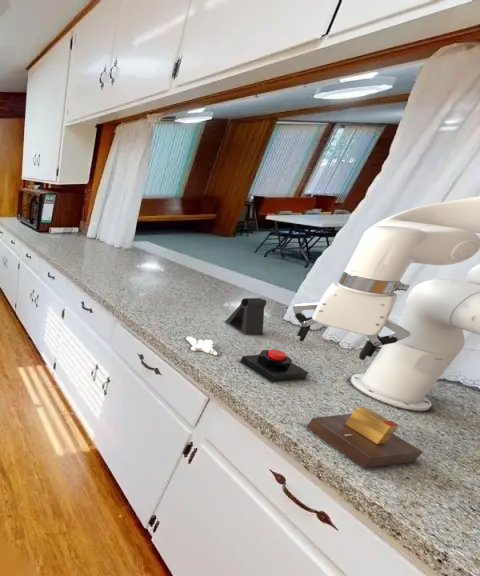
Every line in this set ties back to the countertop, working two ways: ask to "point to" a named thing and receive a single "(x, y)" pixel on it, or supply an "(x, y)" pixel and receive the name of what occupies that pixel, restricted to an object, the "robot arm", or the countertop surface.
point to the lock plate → (362, 443)
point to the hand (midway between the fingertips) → (330, 347)
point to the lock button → (277, 354)
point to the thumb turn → (371, 425)
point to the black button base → (273, 367)
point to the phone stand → (248, 316)
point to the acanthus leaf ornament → (202, 345)
